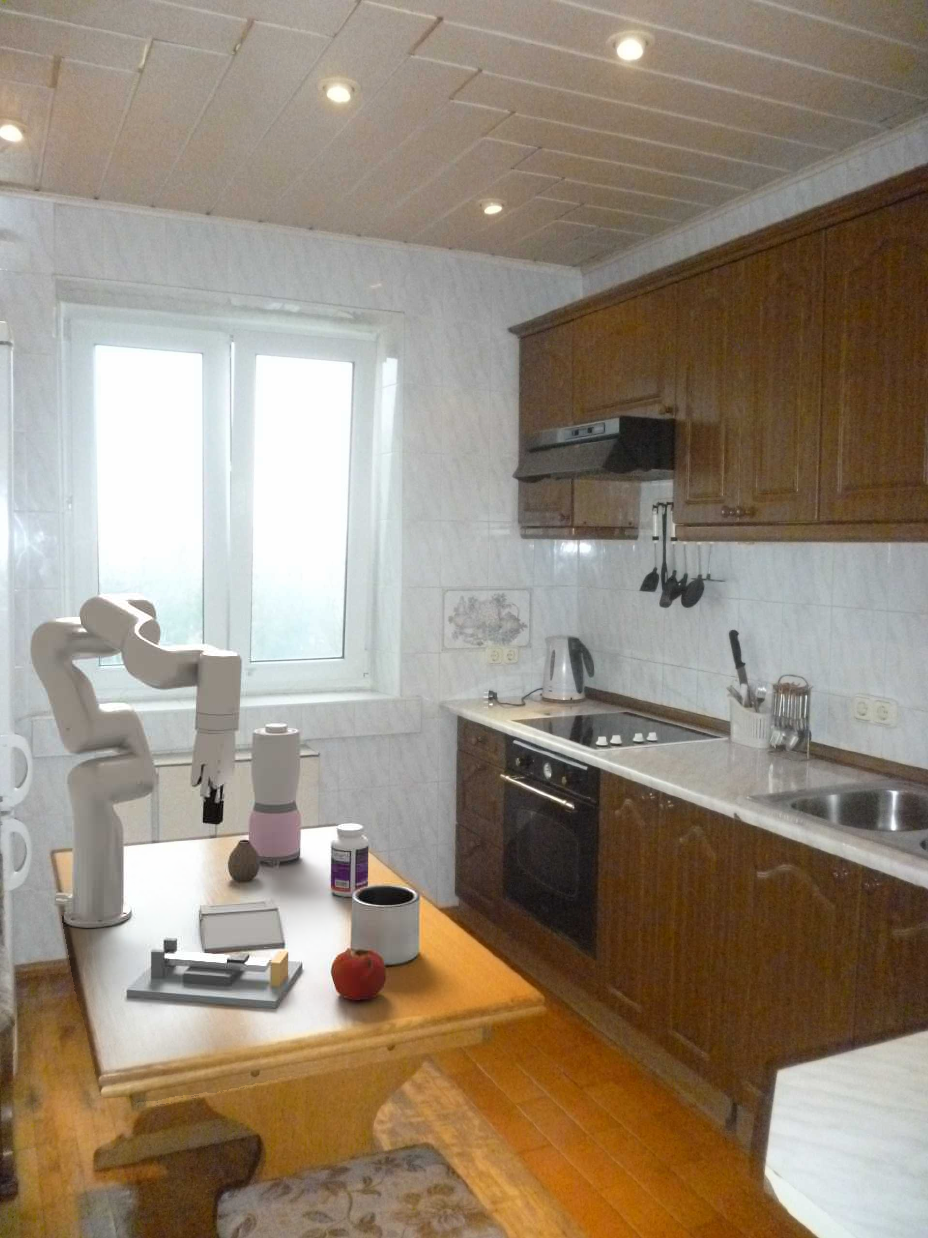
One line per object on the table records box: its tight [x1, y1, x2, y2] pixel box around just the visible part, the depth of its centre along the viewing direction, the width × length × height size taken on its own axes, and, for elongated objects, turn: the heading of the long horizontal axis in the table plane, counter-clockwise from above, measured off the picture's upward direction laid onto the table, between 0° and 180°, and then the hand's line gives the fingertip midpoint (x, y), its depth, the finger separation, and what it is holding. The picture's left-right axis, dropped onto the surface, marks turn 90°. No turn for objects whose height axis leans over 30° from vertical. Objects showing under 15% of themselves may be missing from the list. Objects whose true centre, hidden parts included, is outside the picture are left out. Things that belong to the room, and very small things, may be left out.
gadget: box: [198, 899, 286, 954], centre depth 201 cm, size 23×15×4 cm, turn 16°
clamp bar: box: [165, 950, 272, 972], centre depth 176 cm, size 19×4×2 cm, turn 83°
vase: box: [227, 839, 261, 883], centre depth 229 cm, size 7×7×9 cm
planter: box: [349, 884, 421, 967], centre depth 189 cm, size 12×12×11 cm
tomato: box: [330, 947, 387, 1001], centre depth 172 cm, size 9×9×8 cm
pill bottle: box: [330, 822, 370, 898], centre depth 223 cm, size 8×8×14 cm
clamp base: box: [126, 937, 303, 1009], centre depth 176 cm, size 25×16×6 cm, turn 83°
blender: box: [248, 723, 302, 868], centre depth 245 cm, size 16×12×32 cm
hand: (212, 822), depth 184 cm, fingers closed
